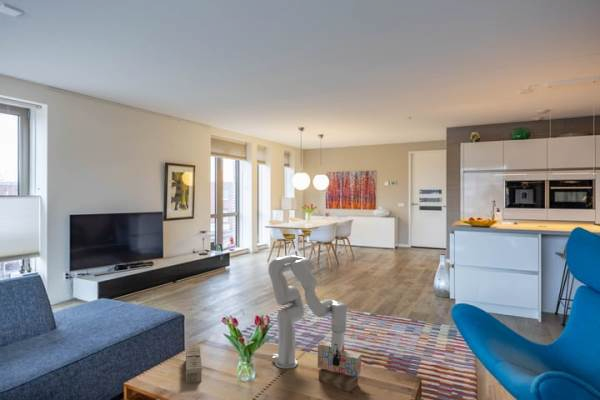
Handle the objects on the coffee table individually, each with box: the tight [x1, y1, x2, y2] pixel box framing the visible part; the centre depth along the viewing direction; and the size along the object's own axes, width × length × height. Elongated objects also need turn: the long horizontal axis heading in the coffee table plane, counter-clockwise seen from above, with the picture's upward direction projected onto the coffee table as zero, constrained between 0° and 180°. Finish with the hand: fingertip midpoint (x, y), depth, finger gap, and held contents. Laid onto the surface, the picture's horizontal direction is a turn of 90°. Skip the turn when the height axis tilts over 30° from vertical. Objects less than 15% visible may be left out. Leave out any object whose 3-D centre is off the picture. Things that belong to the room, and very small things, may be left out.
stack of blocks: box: [317, 340, 362, 377], centre depth 184 cm, size 21×6×12 cm, turn 63°
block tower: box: [185, 345, 203, 384], centre depth 194 cm, size 8×8×29 cm
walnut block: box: [318, 368, 359, 392], centre depth 184 cm, size 18×9×5 cm, turn 49°
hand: (337, 362), depth 184 cm, fingers closed on stack of blocks, 6 cm apart
